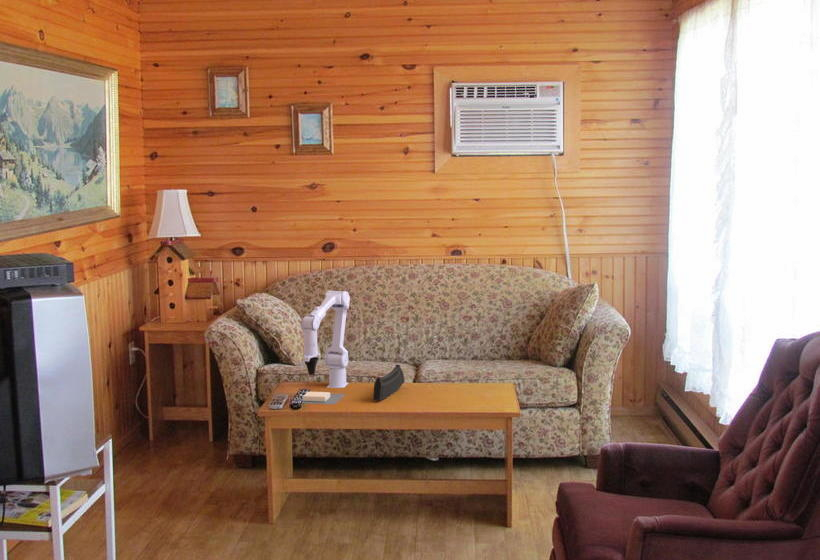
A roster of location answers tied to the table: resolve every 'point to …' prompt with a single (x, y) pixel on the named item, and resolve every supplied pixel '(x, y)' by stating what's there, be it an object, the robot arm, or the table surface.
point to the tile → (316, 396)
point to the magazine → (388, 384)
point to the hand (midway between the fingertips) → (311, 374)
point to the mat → (332, 400)
